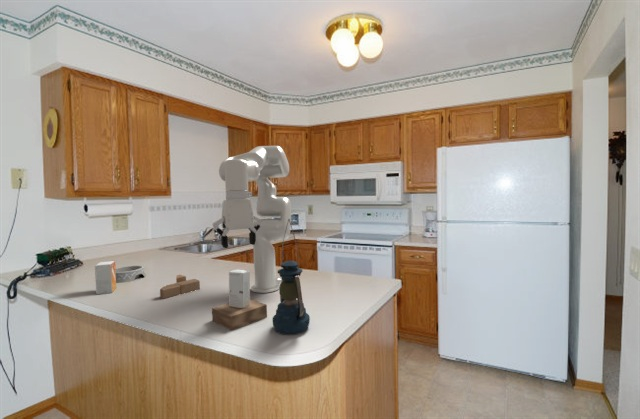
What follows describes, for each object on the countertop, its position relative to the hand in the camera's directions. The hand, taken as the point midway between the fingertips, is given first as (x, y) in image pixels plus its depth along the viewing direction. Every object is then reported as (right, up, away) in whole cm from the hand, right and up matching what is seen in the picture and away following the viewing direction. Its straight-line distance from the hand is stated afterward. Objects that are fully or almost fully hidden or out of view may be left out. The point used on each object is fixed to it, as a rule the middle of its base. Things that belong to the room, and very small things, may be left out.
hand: (239, 245), depth 112 cm
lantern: (+19, -26, -8) cm, 33 cm away
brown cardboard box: (0, -26, +1) cm, 26 cm away
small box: (-70, -25, +37) cm, 83 cm away
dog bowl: (-74, -24, +60) cm, 99 cm away
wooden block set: (-39, -25, +36) cm, 58 cm away
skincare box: (0, -21, +1) cm, 21 cm away
